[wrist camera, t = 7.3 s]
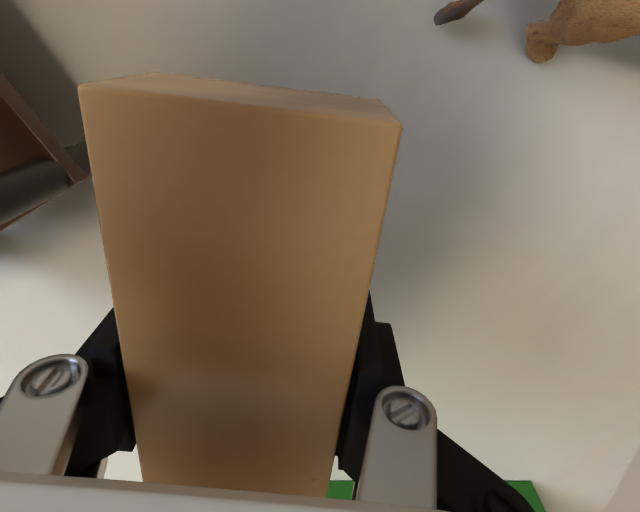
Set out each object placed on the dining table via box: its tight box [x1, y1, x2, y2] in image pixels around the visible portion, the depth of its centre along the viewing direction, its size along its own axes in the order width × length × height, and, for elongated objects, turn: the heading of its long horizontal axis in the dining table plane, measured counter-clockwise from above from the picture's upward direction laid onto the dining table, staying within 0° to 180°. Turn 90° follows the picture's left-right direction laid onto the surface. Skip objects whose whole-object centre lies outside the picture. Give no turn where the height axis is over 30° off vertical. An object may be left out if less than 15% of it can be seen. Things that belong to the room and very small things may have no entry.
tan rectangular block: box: [77, 72, 403, 498], centre depth 11 cm, size 5×13×5 cm, turn 173°
